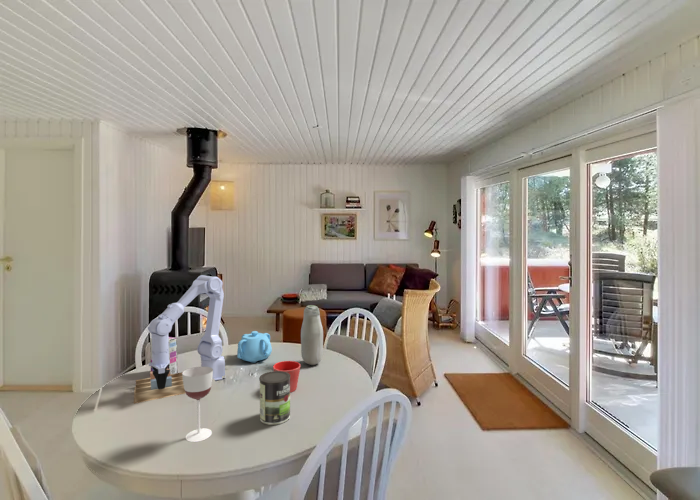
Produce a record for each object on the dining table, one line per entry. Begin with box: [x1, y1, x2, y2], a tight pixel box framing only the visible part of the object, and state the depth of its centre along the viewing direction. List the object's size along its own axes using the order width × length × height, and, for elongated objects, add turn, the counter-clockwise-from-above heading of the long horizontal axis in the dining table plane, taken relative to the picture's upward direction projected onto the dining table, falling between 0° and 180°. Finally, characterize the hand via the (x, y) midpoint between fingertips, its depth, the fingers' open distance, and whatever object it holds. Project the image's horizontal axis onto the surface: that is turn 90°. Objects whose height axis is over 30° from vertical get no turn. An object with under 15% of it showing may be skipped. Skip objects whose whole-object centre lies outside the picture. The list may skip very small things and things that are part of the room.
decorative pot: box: [236, 330, 273, 364], centre depth 180 cm, size 16×16×14 cm
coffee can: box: [258, 370, 291, 426], centre depth 123 cm, size 10×10×14 cm
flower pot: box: [272, 360, 301, 394], centre depth 145 cm, size 11×11×10 cm
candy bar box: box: [149, 336, 179, 374], centre depth 159 cm, size 11×5×16 cm, turn 68°
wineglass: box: [182, 366, 213, 443], centre depth 112 cm, size 8×9×20 cm
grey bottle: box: [300, 304, 324, 366], centre depth 173 cm, size 10×10×28 cm
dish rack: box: [133, 371, 186, 404], centre depth 142 cm, size 18×16×4 cm
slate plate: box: [151, 376, 172, 390], centre depth 138 cm, size 7×2×6 cm, turn 119°
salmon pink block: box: [149, 369, 170, 382], centre depth 146 cm, size 7×2×6 cm, turn 120°
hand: (161, 385), depth 138 cm, fingers open, 5 cm apart
